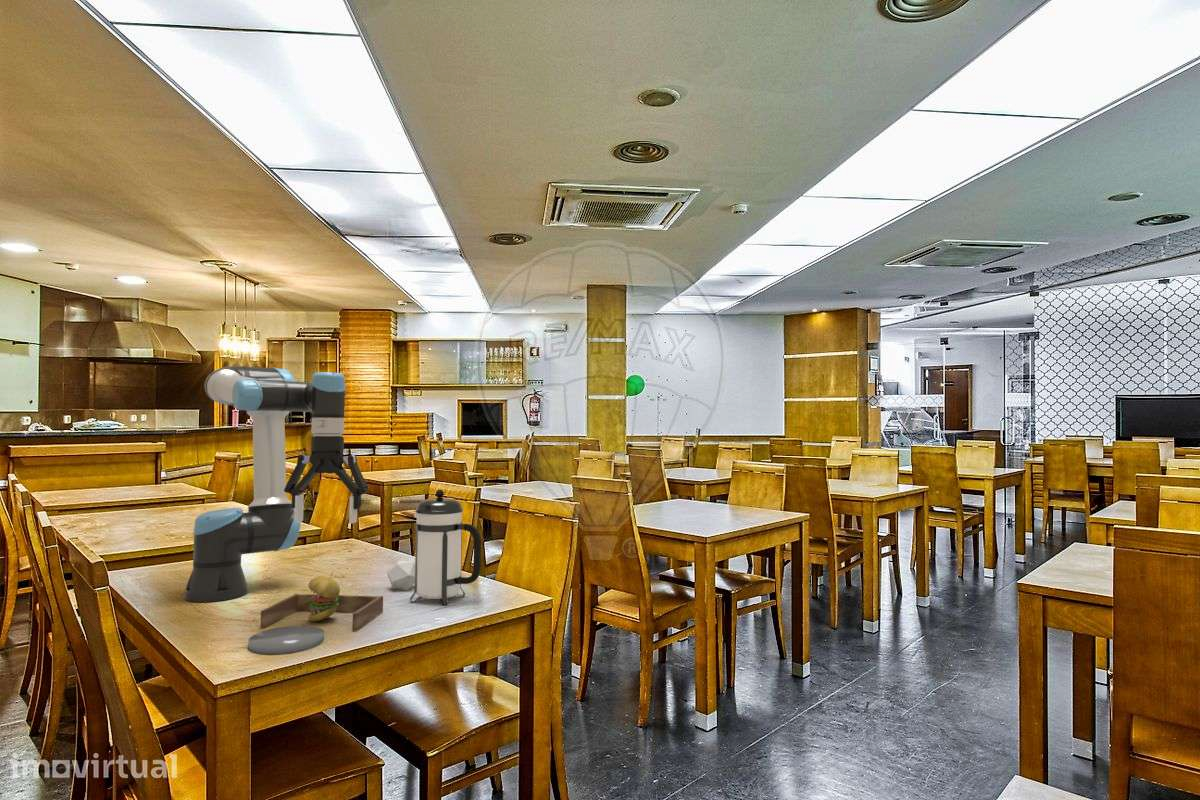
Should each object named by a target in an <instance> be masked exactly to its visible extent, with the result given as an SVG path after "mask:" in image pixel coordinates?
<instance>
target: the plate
mask: <svg viewBox="0 0 1200 800" xmlns="http://www.w3.org/2000/svg"><path fill="white" fill-rule="evenodd" d="M324 641H325V631H324V629H323V628H321V627H318V626H312V625H289V626H288V625H287V626H280V627H275V628H270V629H267V630H263V631H260V632H256V633H254V634H252V635H251V636H250V637H249V638H248V645H247V647H248V650H249V651H250V652H252V653H254V654H260V655H286V654H292V653H298V652H302V651H306V650H309V649H313V648H315V647H318V646H319V645H321V644H322V643H323V642H324Z"/></svg>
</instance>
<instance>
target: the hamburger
mask: <svg viewBox="0 0 1200 800" xmlns="http://www.w3.org/2000/svg"><path fill="white" fill-rule="evenodd" d="M333 573H334V571H332V572H331V573H330V576H329V577H328V576H325V575H324V576H323V575H320V576H316V577H313V578H312V579H310V581H309V582H308V585H307V586H308V589H309V590H310V593H312V594H313V596H312V597H311V598H309V602H310V605H309V606H310V607H311V608H314V610H312V609H310V610H311V611H310V614H309V615H308V616H307V618H308V620H309V621H311V622H312V623H313V622H320V621H323V620H325V619H327V618H329V617H330V616H332V615H334V613H336V612H335V611H336V610H337V605H338V604H339V603H338V602H337V601H338V599H339V597H338V596H339V595H340V593H341V588H340V585H339V584H338V581H336V580H335V579H333V578H332V576H333ZM314 594H316V595H314ZM326 606H327V607H326ZM316 607H318V608H317V610H318V611H317V610H316V609H315V608H316ZM321 608H322V609H321Z"/></svg>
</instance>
